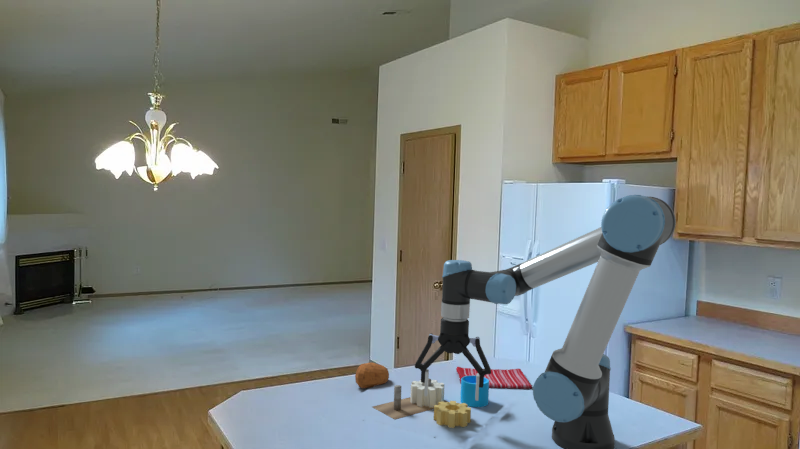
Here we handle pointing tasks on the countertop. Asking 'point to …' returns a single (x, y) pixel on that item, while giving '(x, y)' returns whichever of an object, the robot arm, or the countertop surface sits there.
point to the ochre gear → (452, 414)
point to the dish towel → (500, 378)
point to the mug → (474, 392)
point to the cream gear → (432, 397)
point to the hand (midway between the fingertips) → (451, 396)
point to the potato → (371, 375)
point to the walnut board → (402, 405)
